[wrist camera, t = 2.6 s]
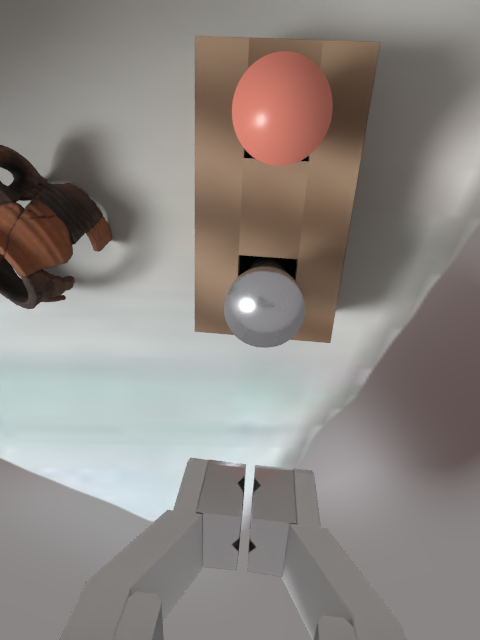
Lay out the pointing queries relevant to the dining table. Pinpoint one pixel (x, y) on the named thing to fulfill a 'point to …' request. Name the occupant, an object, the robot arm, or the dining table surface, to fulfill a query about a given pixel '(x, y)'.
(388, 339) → the dining table surface
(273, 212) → the walnut plug panel
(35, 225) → the pottery mug
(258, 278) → the steel plug
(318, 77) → the red plug
